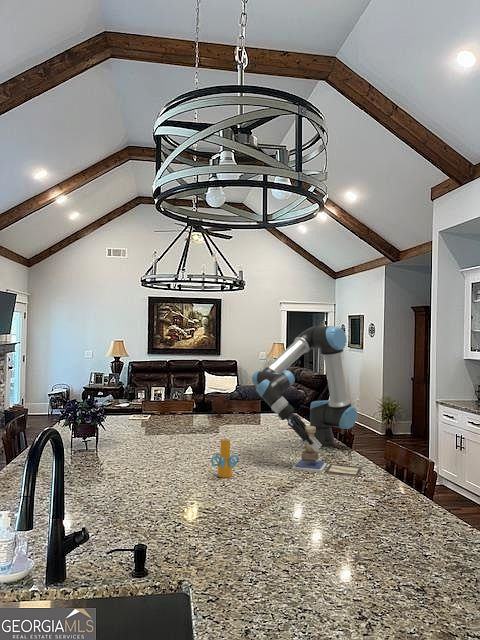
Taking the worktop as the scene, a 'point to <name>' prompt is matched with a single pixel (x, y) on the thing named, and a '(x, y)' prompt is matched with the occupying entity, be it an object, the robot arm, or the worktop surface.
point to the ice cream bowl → (219, 405)
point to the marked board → (343, 470)
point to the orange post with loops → (225, 460)
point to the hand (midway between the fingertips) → (318, 448)
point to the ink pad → (310, 466)
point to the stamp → (309, 452)
